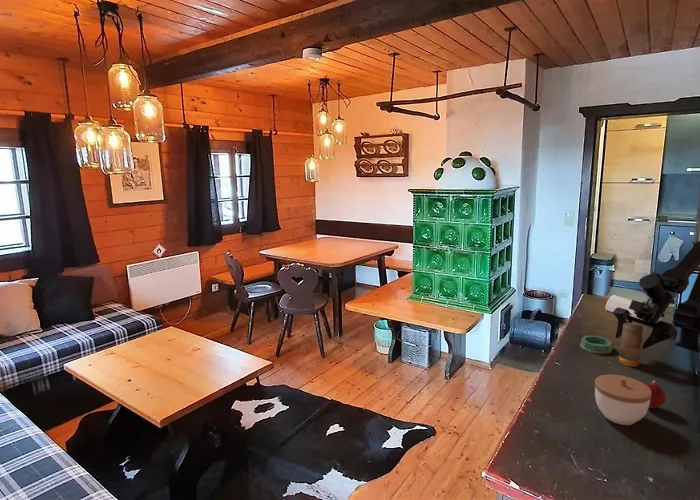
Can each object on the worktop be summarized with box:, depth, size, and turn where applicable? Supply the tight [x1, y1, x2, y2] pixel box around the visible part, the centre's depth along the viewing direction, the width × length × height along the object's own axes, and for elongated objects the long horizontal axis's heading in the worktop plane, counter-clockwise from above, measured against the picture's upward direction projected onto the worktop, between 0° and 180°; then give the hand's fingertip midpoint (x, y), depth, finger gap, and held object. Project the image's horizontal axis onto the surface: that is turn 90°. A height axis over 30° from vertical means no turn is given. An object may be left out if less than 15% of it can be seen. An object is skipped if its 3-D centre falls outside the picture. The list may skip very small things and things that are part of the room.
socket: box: [579, 335, 613, 355], centre depth 158 cm, size 10×10×3 cm
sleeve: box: [618, 322, 644, 368], centre depth 146 cm, size 6×6×13 cm
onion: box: [646, 379, 667, 409], centre depth 120 cm, size 6×6×8 cm
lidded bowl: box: [594, 374, 652, 426], centre depth 116 cm, size 13×13×11 cm
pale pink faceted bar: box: [604, 294, 663, 322], centre depth 187 cm, size 7×7×24 cm
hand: (629, 342), depth 145 cm, fingers open, 9 cm apart
